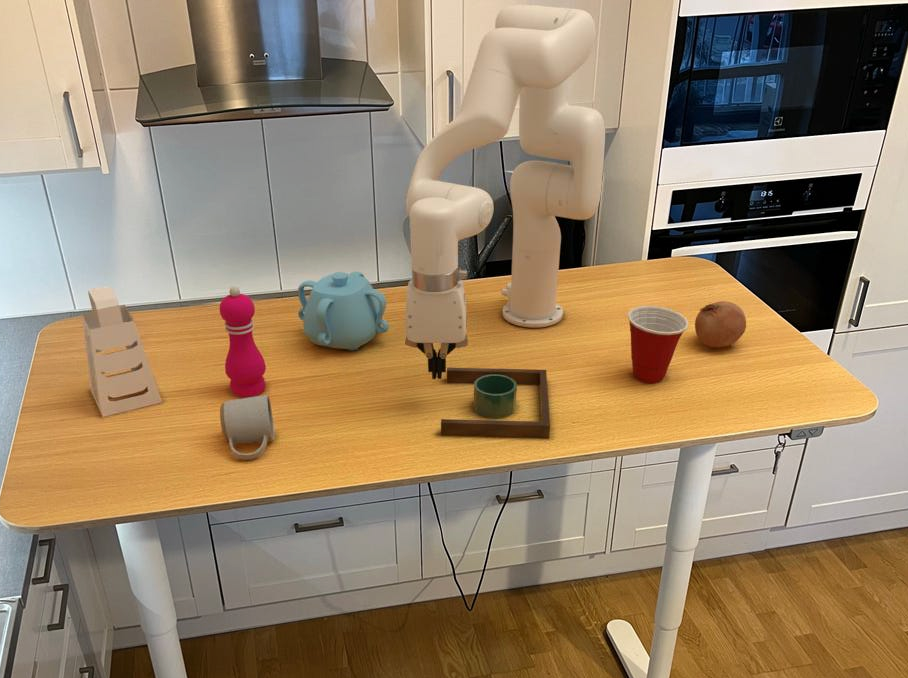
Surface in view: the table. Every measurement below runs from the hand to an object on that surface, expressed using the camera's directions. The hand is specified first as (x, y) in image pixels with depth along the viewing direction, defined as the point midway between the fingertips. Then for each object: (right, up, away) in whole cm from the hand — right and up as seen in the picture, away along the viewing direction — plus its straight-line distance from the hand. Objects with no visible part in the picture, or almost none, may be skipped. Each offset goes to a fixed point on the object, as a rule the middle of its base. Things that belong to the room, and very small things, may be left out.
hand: (437, 375), depth 161 cm
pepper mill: (-35, -2, +9) cm, 36 cm away
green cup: (+10, -5, +2) cm, 12 cm away
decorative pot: (-19, +10, +25) cm, 33 cm away
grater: (-56, -3, +7) cm, 57 cm away
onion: (+55, +8, +21) cm, 60 cm away
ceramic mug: (-31, -12, -7) cm, 34 cm away
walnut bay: (+10, -5, +2) cm, 11 cm away
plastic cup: (+40, +1, +11) cm, 41 cm away
